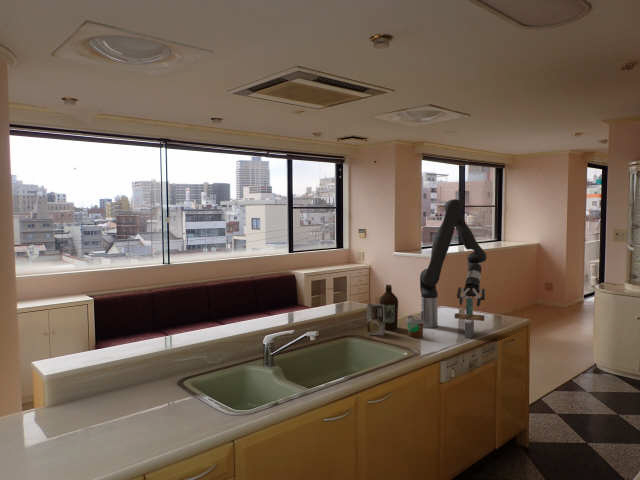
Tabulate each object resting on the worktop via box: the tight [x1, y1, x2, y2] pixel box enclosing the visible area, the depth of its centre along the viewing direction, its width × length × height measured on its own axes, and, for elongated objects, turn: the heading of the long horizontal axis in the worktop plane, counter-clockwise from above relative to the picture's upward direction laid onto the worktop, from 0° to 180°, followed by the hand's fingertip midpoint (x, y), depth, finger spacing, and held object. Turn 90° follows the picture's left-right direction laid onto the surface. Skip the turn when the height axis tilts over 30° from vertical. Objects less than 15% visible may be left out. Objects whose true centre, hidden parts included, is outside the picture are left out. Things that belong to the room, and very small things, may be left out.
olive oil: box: [378, 284, 399, 331], centre depth 275 cm, size 11×11×25 cm
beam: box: [454, 296, 485, 322], centre depth 257 cm, size 15×3×11 cm, turn 63°
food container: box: [405, 315, 424, 339], centre depth 258 cm, size 12×6×10 cm, turn 21°
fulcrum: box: [464, 319, 475, 339], centre depth 257 cm, size 3×10×9 cm, turn 153°
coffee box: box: [366, 303, 386, 336], centre depth 265 cm, size 9×6×16 cm
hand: (469, 305), depth 256 cm, fingers open, 8 cm apart
